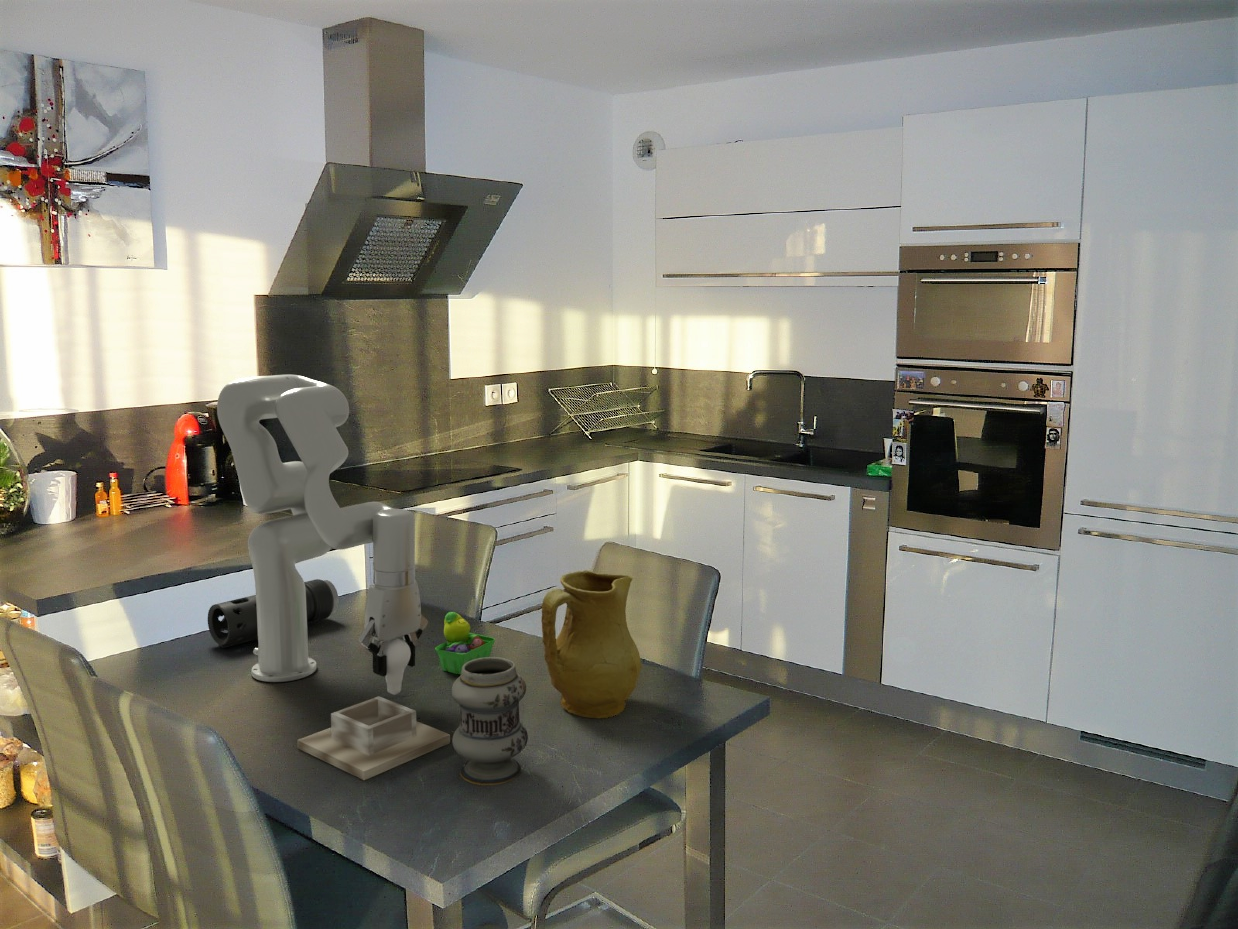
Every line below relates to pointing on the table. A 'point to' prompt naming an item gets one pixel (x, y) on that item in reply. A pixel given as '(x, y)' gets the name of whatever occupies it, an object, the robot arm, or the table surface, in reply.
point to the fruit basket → (461, 644)
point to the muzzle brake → (244, 613)
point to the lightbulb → (396, 663)
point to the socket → (373, 738)
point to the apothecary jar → (489, 720)
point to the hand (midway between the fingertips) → (394, 668)
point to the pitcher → (591, 644)
